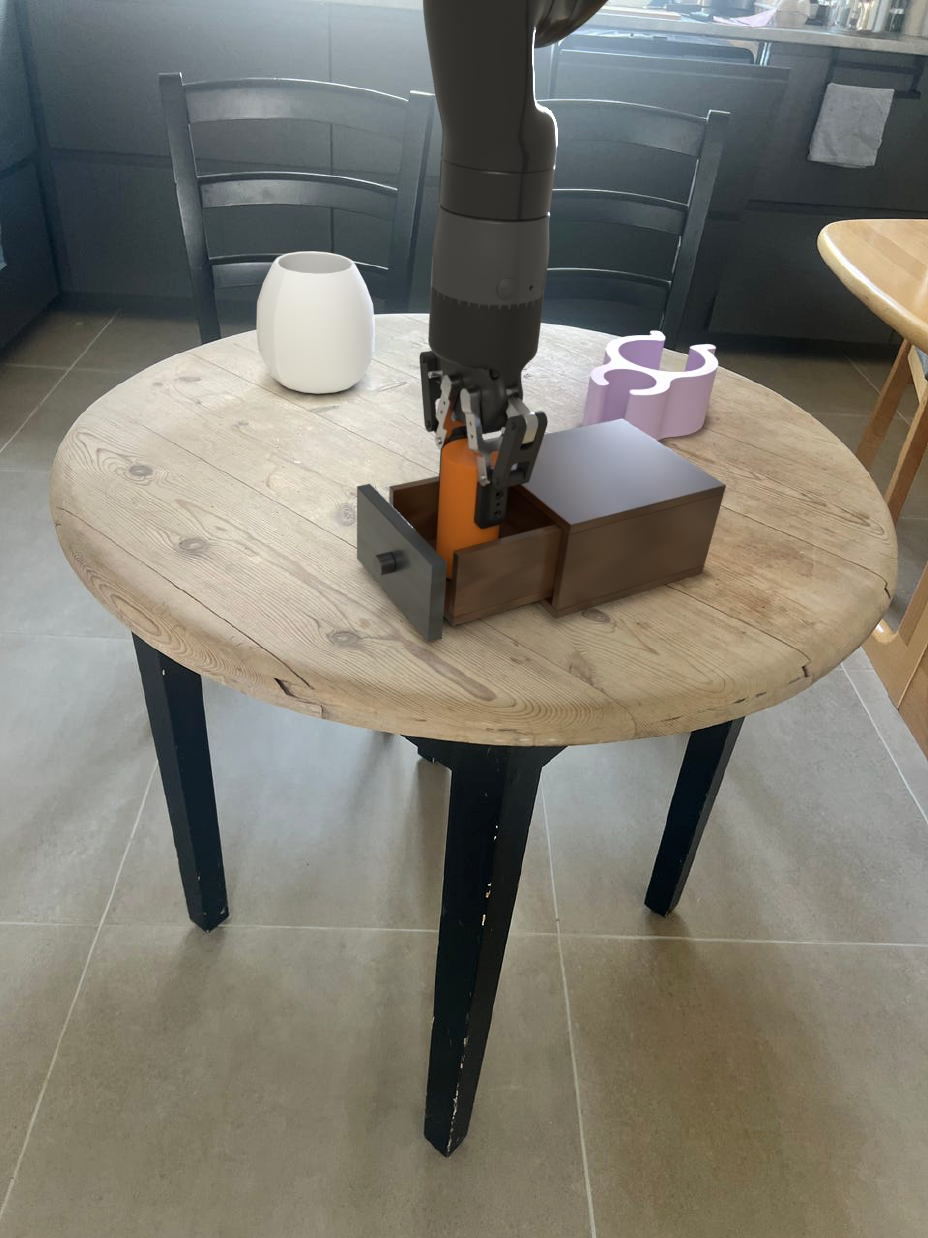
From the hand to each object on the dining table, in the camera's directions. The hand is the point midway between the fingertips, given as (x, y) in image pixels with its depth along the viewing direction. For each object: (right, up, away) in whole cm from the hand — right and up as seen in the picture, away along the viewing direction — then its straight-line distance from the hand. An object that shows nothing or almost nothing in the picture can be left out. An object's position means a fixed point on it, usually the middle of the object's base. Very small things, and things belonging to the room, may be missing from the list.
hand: (469, 507), depth 69 cm
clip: (+20, +14, +34) cm, 42 cm away
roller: (0, -4, +3) cm, 5 cm away
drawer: (0, -5, +4) cm, 7 cm away
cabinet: (+10, -3, +10) cm, 15 cm away
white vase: (-18, +19, +36) cm, 45 cm away
